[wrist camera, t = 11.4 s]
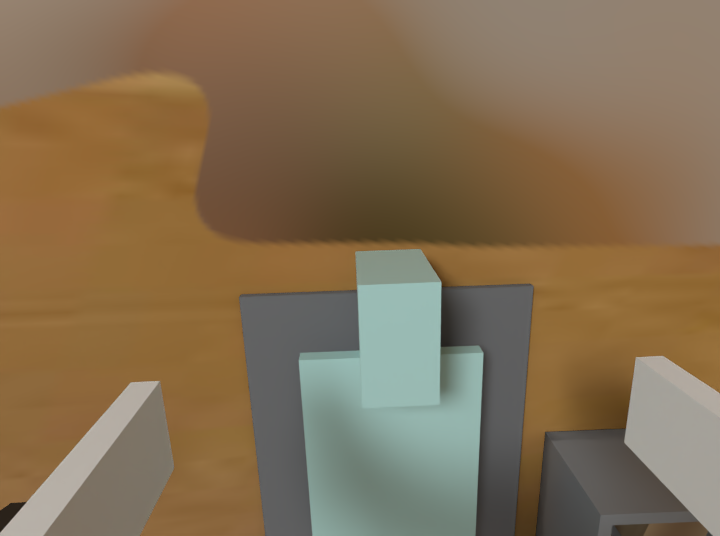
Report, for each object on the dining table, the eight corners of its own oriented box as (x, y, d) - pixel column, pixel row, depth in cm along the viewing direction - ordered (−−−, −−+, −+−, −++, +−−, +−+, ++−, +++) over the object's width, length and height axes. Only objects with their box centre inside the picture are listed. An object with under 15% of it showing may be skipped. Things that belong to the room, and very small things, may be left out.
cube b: (601, 506, 27) (634, 554, 24) (621, 461, 26) (658, 504, 23) (651, 515, 27) (690, 564, 24) (673, 471, 26) (716, 515, 23)
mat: (273, 591, 29) (272, 597, 29) (241, 294, 24) (239, 297, 23) (508, 581, 29) (510, 587, 29) (530, 283, 24) (533, 286, 23)
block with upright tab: (317, 535, 27) (308, 653, 21) (296, 246, 22) (275, 288, 16) (464, 529, 27) (498, 644, 21) (474, 239, 23) (521, 278, 16)
